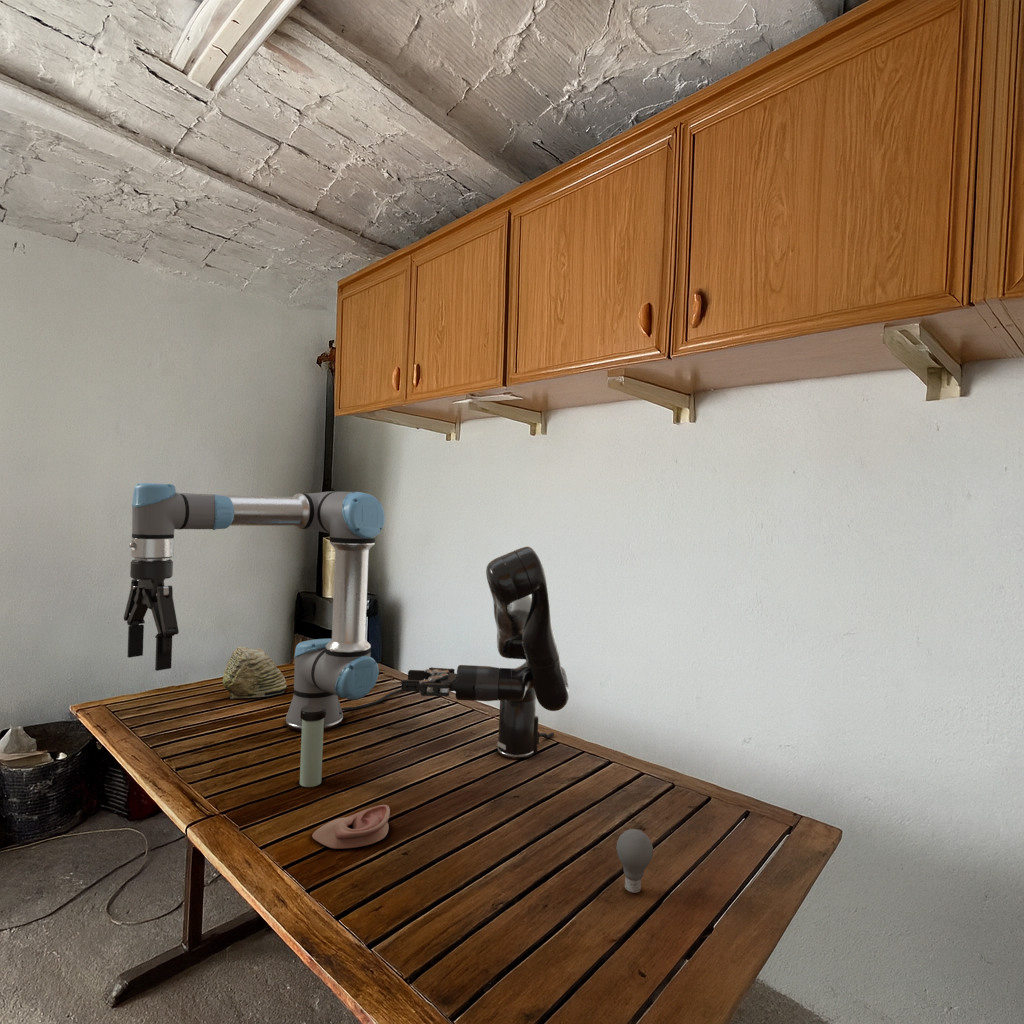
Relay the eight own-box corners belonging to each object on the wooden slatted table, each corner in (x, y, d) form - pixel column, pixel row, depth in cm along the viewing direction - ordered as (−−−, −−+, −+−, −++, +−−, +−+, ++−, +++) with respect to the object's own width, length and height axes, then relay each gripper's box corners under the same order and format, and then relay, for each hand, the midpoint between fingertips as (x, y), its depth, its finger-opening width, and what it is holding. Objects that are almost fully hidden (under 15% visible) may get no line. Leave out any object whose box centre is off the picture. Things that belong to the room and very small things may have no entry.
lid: (317, 722, 137) (318, 713, 137) (295, 719, 138) (295, 710, 138) (330, 714, 142) (330, 706, 142) (308, 711, 143) (308, 703, 143)
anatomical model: (304, 822, 115) (334, 794, 126) (303, 844, 115) (333, 813, 126) (372, 833, 112) (397, 803, 124) (371, 855, 113) (396, 823, 124)
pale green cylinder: (314, 788, 137) (317, 714, 137) (295, 785, 138) (298, 712, 138) (325, 779, 142) (328, 708, 142) (306, 776, 143) (309, 705, 143)
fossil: (218, 695, 195) (220, 647, 195) (278, 685, 208) (279, 640, 207) (228, 703, 189) (230, 653, 188) (289, 692, 201) (290, 645, 201)
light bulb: (610, 879, 108) (613, 822, 108) (644, 879, 109) (647, 822, 109) (619, 902, 102) (622, 840, 102) (655, 901, 103) (658, 840, 103)
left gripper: (108, 554, 134) (104, 654, 134) (159, 565, 118) (155, 678, 119) (146, 552, 140) (143, 648, 140) (199, 563, 124) (195, 671, 124)
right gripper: (480, 658, 147) (410, 655, 147) (477, 674, 133) (400, 671, 133) (478, 690, 147) (409, 687, 147) (475, 710, 133) (398, 706, 133)
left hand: (148, 662), depth 129 cm, fingers open, 13 cm apart
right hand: (404, 679), depth 140 cm, fingers open, 8 cm apart
